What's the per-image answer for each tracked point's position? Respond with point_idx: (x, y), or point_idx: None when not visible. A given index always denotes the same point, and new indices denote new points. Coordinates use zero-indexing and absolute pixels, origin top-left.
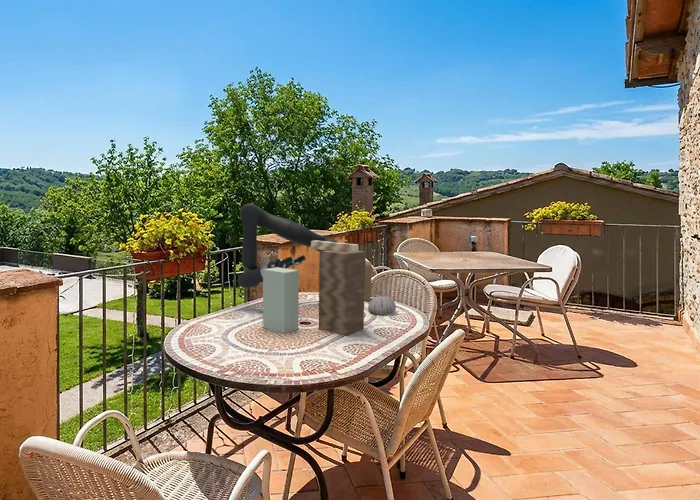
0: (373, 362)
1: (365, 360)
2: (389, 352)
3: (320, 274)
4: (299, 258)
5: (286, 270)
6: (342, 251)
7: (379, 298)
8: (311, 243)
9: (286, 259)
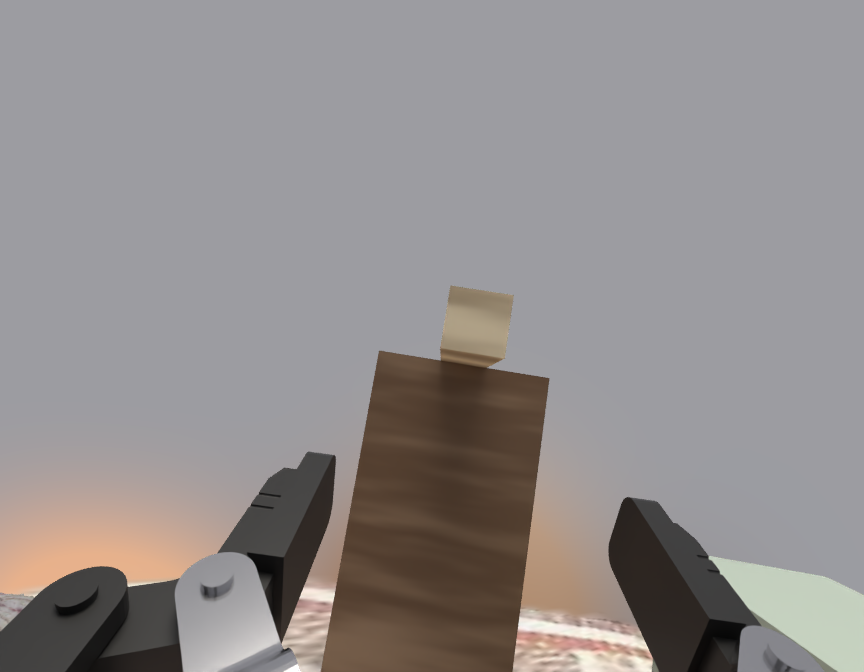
0: (569, 619)
1: (577, 631)
2: None
3: (530, 515)
4: (300, 546)
5: (789, 593)
6: None
7: (9, 617)
8: (510, 317)
9: (715, 579)
